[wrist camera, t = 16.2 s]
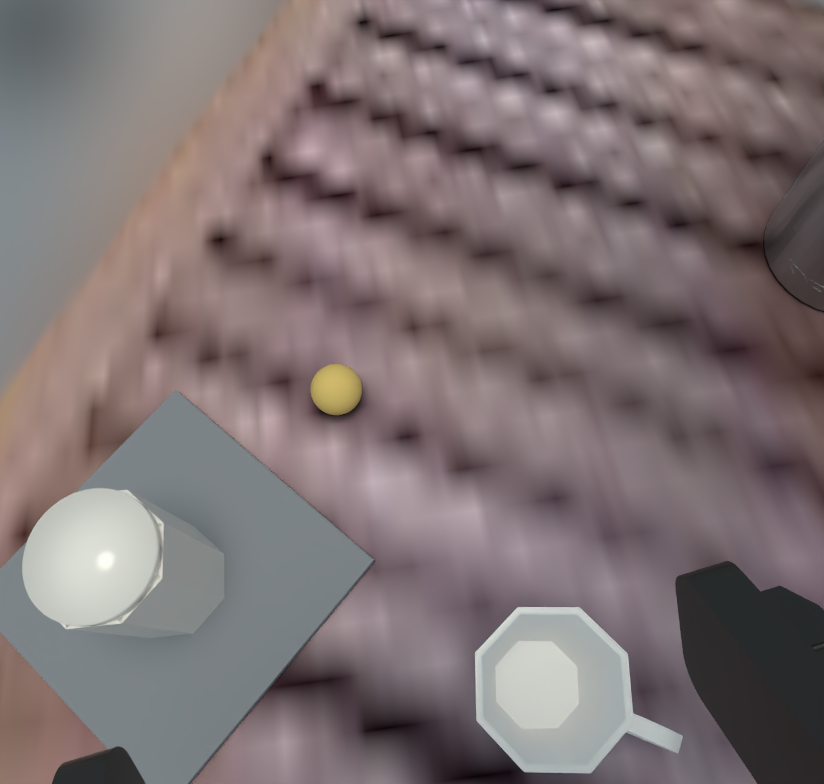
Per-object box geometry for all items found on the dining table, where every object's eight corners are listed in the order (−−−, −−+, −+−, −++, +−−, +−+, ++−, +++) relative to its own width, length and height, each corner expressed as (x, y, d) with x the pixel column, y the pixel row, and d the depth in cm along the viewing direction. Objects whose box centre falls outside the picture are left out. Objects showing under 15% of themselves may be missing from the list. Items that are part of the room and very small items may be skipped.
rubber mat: (179, 393, 46) (175, 389, 45) (375, 561, 42) (373, 559, 41) (-24, 600, 42) (-30, 599, 41) (169, 808, 38) (164, 810, 37)
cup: (495, 593, 41) (503, 575, 33) (675, 669, 39) (728, 669, 31) (446, 722, 38) (444, 735, 31) (635, 809, 37) (681, 845, 29)
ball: (338, 366, 46) (330, 346, 43) (374, 394, 45) (369, 376, 42) (305, 401, 45) (295, 384, 42) (342, 431, 44) (334, 415, 42)
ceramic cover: (173, 508, 43) (94, 462, 33) (245, 573, 41) (183, 544, 32) (99, 588, 41) (-6, 564, 32) (171, 659, 40) (83, 655, 30)
